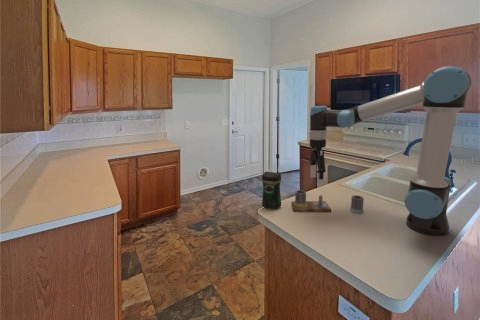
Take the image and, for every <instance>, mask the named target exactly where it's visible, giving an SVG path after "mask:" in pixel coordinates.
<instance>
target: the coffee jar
mask: <svg viewBox="0 0 480 320" xmlns="http://www.w3.org/2000/svg"><path fill="white" fill-rule="evenodd" d="M261 182H262V201H261V206H262V207H263V208H265V209H271V210H277V209H280V208H281V207H282V200H281V199H282V197H281V182H282V175H281V173H280V172H272V171H265V172H263V173H262V177H261Z"/></svg>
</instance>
